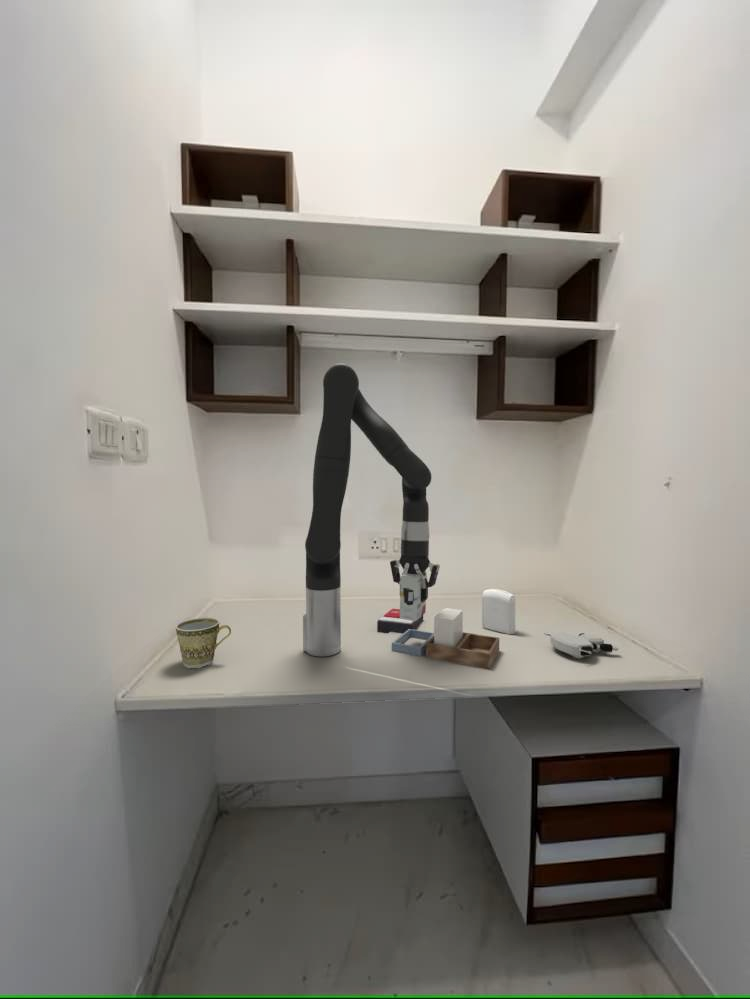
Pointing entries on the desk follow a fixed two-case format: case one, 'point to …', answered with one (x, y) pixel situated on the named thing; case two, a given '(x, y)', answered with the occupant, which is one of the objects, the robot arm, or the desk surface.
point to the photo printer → (498, 611)
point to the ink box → (411, 597)
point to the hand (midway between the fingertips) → (413, 599)
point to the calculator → (396, 623)
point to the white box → (448, 627)
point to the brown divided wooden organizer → (467, 650)
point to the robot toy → (579, 644)
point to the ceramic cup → (198, 640)
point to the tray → (410, 649)
